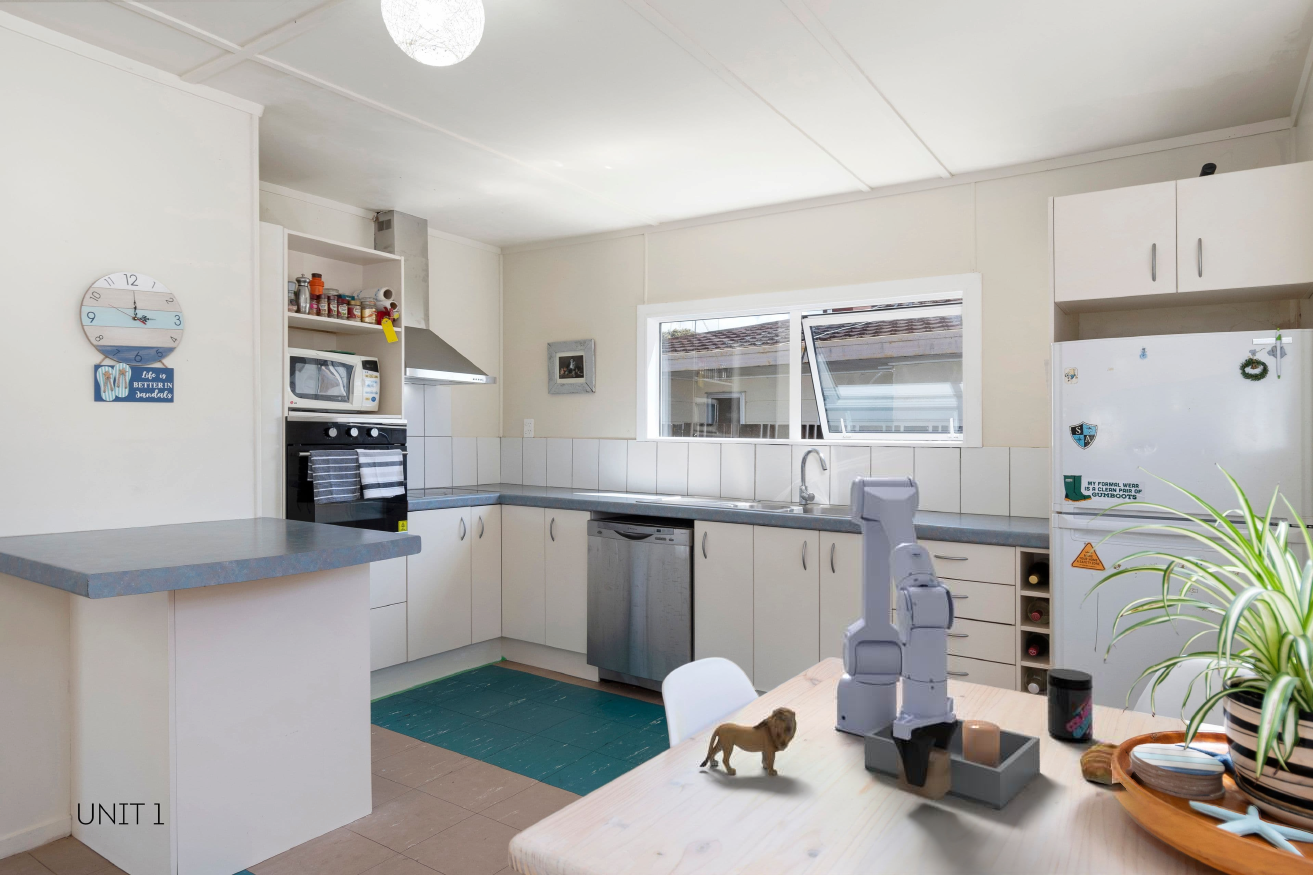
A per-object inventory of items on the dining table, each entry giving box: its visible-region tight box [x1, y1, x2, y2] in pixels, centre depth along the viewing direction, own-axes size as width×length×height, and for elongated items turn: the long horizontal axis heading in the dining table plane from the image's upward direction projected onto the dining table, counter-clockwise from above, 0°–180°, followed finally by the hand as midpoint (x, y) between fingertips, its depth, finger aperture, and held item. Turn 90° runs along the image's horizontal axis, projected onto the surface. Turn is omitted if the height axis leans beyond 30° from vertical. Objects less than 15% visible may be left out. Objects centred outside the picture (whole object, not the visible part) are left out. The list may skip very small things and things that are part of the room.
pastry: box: [1079, 742, 1121, 786], centre depth 114 cm, size 9×7×4 cm
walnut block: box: [898, 747, 951, 802], centre depth 103 cm, size 5×5×5 cm
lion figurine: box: [699, 706, 798, 776], centre depth 115 cm, size 15×5×9 cm, turn 95°
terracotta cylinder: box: [962, 719, 1001, 768], centre depth 112 cm, size 5×5×7 cm
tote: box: [864, 716, 1041, 811], centre depth 115 cm, size 20×17×5 cm
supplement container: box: [1046, 668, 1094, 744], centre depth 129 cm, size 7×7×10 cm
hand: (924, 777), depth 103 cm, fingers closed on walnut block, 5 cm apart
